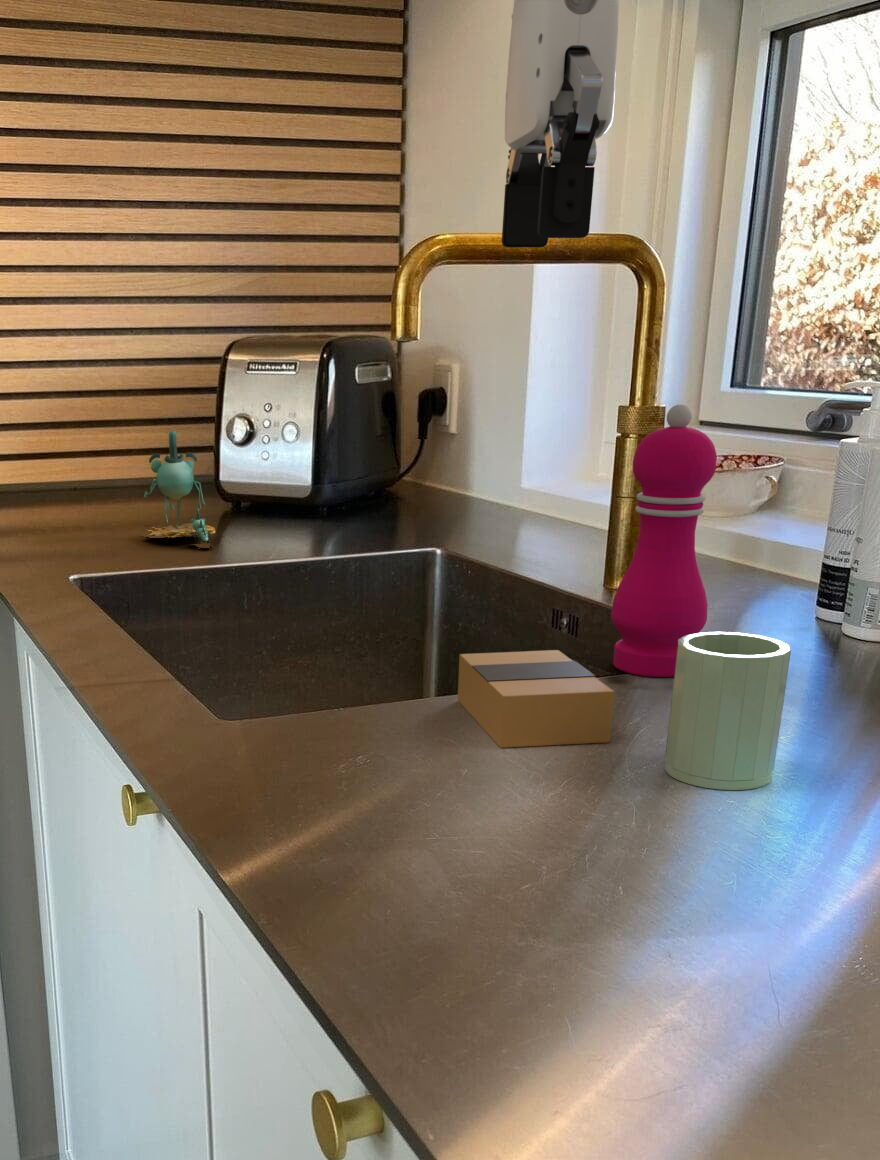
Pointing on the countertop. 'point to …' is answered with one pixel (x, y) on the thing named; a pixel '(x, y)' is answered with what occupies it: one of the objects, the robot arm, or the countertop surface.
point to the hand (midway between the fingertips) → (542, 242)
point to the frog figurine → (177, 491)
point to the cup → (726, 709)
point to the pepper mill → (664, 549)
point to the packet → (535, 698)
